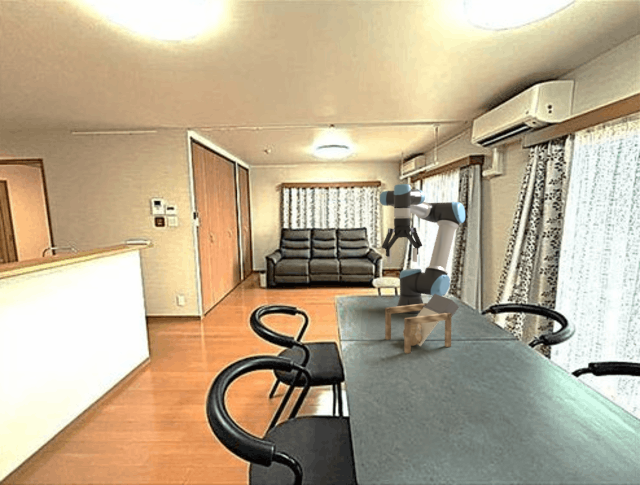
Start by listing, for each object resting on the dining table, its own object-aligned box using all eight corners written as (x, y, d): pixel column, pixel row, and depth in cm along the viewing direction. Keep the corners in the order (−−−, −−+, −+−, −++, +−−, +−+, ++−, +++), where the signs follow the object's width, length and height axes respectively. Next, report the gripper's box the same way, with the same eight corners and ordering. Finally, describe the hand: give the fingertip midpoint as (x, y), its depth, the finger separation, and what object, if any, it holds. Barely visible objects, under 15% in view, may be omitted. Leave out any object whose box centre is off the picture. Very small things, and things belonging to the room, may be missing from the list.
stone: (425, 323, 152) (418, 316, 150) (422, 344, 144) (414, 337, 143) (409, 327, 157) (402, 321, 156) (405, 348, 150) (398, 342, 149)
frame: (426, 332, 164) (426, 303, 163) (451, 346, 147) (451, 313, 146) (385, 338, 158) (385, 307, 156) (406, 353, 141) (406, 319, 140)
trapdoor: (440, 299, 163) (433, 293, 161) (460, 307, 149) (453, 300, 148) (409, 340, 159) (401, 334, 158) (427, 352, 146) (419, 345, 145)
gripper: (420, 216, 174) (420, 259, 176) (374, 218, 167) (374, 263, 169) (429, 217, 167) (429, 261, 169) (381, 218, 160) (382, 265, 162)
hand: (402, 262), depth 169 cm, fingers open, 13 cm apart
